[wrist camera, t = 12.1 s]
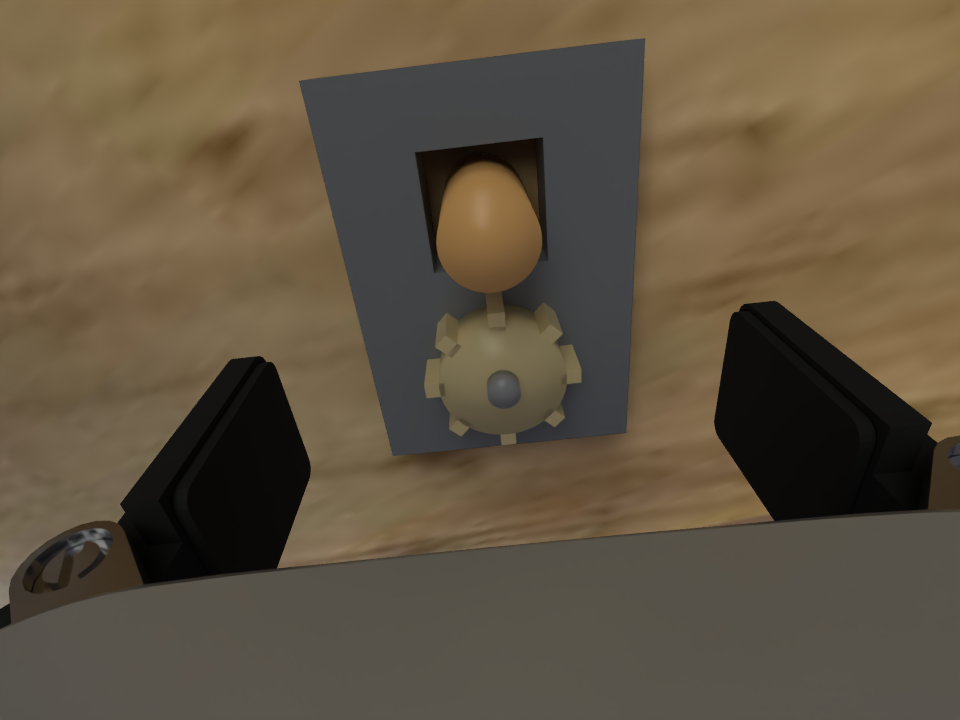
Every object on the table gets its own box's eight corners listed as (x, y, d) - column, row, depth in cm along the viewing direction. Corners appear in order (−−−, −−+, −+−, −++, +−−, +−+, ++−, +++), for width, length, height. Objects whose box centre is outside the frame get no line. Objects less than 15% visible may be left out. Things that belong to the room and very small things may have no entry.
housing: (317, 78, 24) (271, 84, 18) (625, 40, 23) (676, 35, 17) (398, 425, 34) (385, 498, 28) (613, 403, 33) (643, 474, 28)
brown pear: (438, 158, 25) (428, 195, 19) (519, 148, 25) (539, 183, 18) (449, 237, 27) (444, 297, 21) (524, 229, 27) (544, 287, 20)
